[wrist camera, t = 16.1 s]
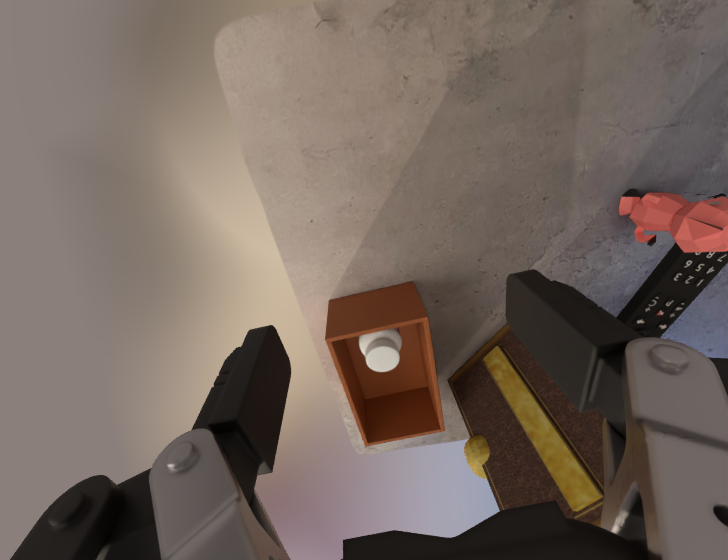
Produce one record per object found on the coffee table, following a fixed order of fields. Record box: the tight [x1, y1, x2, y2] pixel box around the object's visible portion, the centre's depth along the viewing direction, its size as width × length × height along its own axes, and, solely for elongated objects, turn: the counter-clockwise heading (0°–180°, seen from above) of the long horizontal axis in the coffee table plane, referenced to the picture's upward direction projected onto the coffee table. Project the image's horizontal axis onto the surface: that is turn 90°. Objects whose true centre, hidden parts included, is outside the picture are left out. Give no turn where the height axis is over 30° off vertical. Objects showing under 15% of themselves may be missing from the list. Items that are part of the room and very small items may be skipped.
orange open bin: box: [325, 282, 445, 446], centre depth 42 cm, size 21×12×9 cm, turn 13°
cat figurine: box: [619, 189, 728, 252], centre depth 32 cm, size 7×7×12 cm
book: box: [448, 323, 604, 527], centre depth 37 cm, size 22×8×25 cm, turn 146°
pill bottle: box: [359, 327, 402, 372], centre depth 38 cm, size 5×5×10 cm
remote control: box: [617, 243, 728, 338], centre depth 45 cm, size 8×32×2 cm, turn 165°
